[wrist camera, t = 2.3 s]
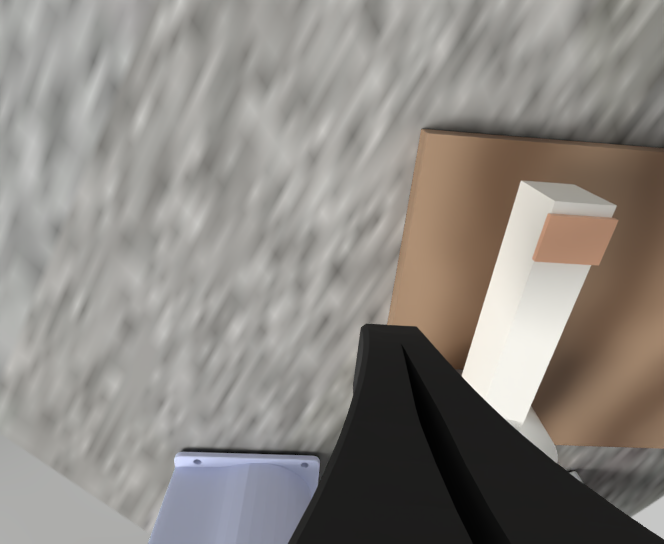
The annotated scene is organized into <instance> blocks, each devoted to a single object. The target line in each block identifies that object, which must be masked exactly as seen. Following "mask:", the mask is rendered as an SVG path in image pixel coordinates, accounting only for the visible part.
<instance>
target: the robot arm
mask: <svg viewBox="0 0 664 544" xmlns="http://www.w3.org/2000/svg"><path fill="white" fill-rule="evenodd" d="M174 462H175V469H174V472H173V475H172V478H171V480H170V483H169V486H168V489H167V492H166V494H165V497H164V500H163V503H162V506H161V508H160V511H159V514H158V517H157V520H156V522H155V525H154V528H153V531H152V534H151V536H150V539H149V542H148V544H664V539H662V538H661V537H659V536H658V535H656V534H655V533H653V532H651V531H650V530H648V529H647V528H646V527H644V526H643V525H641V524H640V523H638V522H637V521H635V520H634V519H632V518H631V517H629V516H628V515H626V514H625V513H624V512H622V511H621V510H619V509H618V508H616V507H615V506H614V505H612V504H611V503H609V502H608V501H607V500H605V499H604V498H603V497H601V496H600V495H598V494H597V493H596V492H594V491H593V490H592V489H590V488H589V487H587V486H586V485H585V484H583V483H582V482H581V481H579V480H578V479H576V478H575V477H574V476H573V475H571V474H570V473H569V472H567V471H566V470H565V469H564V468H562V467H561V466H560V465H558V464H557V463H556V462H555V461H553V460H552V459H551V458H550V457H549V456H547V455H546V454H545V453H544V452H542V451H541V450H540V449H539V448H538V447H536V446H535V445H534V444H533V443H532V442H530V441H529V440H528V439H527V438H526V437H524V436H523V435H522V434H521V433H520V432H519V431H518V430H516V429H515V428H514V427H513V426H512V425H511V424H510V423H509V422H508V421H506V420H505V419H504V418H503V417H502V416H501V415H500V414H499V413H498V412H497V411H496V410H495V409H494V408H493V407H492V406H491V405H489V404H488V403H487V402H486V401H485V400H484V399H483V398H482V397H481V396H480V395H479V394H478V393H477V392H476V391H475V390H474V389H473V388H472V387H471V386H470V385H469V384H468V383H467V381H466V380H465V379H464V378H463V377H462V376H461V375H460V374H459V373H458V372H457V371H456V370H455V369H454V368H453V367H452V365H451V364H450V363H449V362H448V361H447V360H446V359H445V358H444V357H443V355H442V354H441V353H440V352H439V351H438V350H437V349H436V348H435V346H434V345H433V344H432V343H431V342H430V341H429V340H428V338H427V337H426V336H425V335H424V334H423V333H422V332H421V331H420V330H419V328H418V327H417V326H400V325H380V324H365V325H364V326H363V327H361V331H360V339H359V346H358V353H357V360H356V368H355V375H354V382H353V398H352V402H351V405H350V408H349V411H348V414H347V417H346V420H345V423H344V426H343V428H342V431H341V434H340V436H339V439H338V441H337V444H336V446H335V449H334V451H333V454H332V456H331V458H330V460H329V463H328V465H327V467H326V469H325V471H324V474H323V476H322V478H321V480H320V482H319V485H318V478H319V468H320V460H319V458H318V457H316V456H307V455H275V454H242V453H210V452H179V453H177V454H176V456H175V459H174Z"/></svg>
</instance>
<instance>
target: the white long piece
mask: <svg viewBox="0 0 664 544" xmlns="http://www.w3.org/2000/svg"><path fill="white" fill-rule="evenodd" d="M616 206H617V205H615V204H613V203H610V202H608V201H606V200H604V199H602V198H600V197H598V196H596V195H594V194H592V193H590V192H588V191H586V190H584V189H582V188H580V187H578V186H576V185H574V184H562V183H549V182H535V181H521V182H520V185H519V189H518V192H517V195H516V199H515V202H514V205H513V208H512V212H511V215H510V218H509V222H508V225H507V228H506V232H505V235H504V238H503V241H502V245H501V248H500V251H499V255H498V258H497V261H496V264H495V268H494V271H493V274H492V278H491V281H490V284H489V288H488V291H487V294H486V297H485V301H484V304H483V307H482V311H481V314H480V317H479V320H478V324H477V327H476V330H475V334H474V337H473V340H472V343H471V347H470V350H469V353H468V357H467V360H466V363H465V367H464V370H463V373H462V377H463V378H464V379H465V380H466V381H467V383H468V384H469V385H470V386H471V387H472V388H473V389H474V390H475V391H476V392H477V393H478V394H479V395H480V396H481V397H482V398H483V399H484V400H485V401H486V402H487V403H488V404H489V405H491V406H492V407H493V408H494V409H495V410H496V411H497V412H498V413H499V414H500V415H501V416H502V417H503V418H504V419H505V420H506V421H508V422H509V423H510V424H511V425H512V426H513V427H514V428H515V429H516V430H518V431H519V432H520V433H521V434H522V435H523V436H524V437H526V438H527V439H528V440H529V441H530V442H532V443H533V444H534V445H535V446H536V447H538V448H539V449H540V450H541V451H542V452H544V453H545V454H546V455H547V456H549V457H550V458H551V459H552V460H553V461H555V462H556V463H558V454H557V449H556V447H555V445H554V443H553V441H552V440H551V438H550V436H549V435H548V433H547V431H546V430H545V428H544V426H543V425H542V423H541V421H540V420H539V418H538V416H537V415H536V413H535V411H534V410H533V408H532V406H531V404H532V402H533V399H534V397H535V395H536V392H537V390H538V388H539V386H540V383H541V381H542V379H543V376H544V374H545V372H546V369H547V367H548V365H549V362H550V360H551V358H552V355H553V353H554V351H555V348H556V346H557V344H558V341H559V339H560V337H561V334H562V332H563V330H564V327H565V325H566V323H567V320H568V318H569V316H570V313H571V311H572V309H573V306H574V304H575V302H576V299H577V297H578V295H579V293H580V290H581V288H582V286H583V283H584V281H585V279H586V276H587V274H588V272H589V269H590V267H591V265H598V266H599V264H600V262H601V259H602V257H603V255H604V253H605V250H606V248H607V246H608V244H609V241H610V239H611V237H612V235H613V232H614V230H615V228H616V225H617V223H618V221H619V220H618V219H616V218H612V216H613V213H614V211H615V209H616Z"/></svg>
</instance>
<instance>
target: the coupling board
mask: <svg viewBox="0 0 664 544" xmlns="http://www.w3.org/2000/svg"><path fill="white" fill-rule="evenodd" d="M521 181H535V182H549V183H562V184H574V185H576V186H578V187H580V188H582V189H584V190H586V191H588V192H590V193H592V194H594V195H596V196H598V197H600V198H602V199H604V200H606V201H608V202H610V203H613V204H615V205H617V206H616V209H615V211H614V213H613V216H612V218H616V219H618V220H619V221H618V223H617V225H616V228H615V230H614V232H613V235H612V237H611V239H610V241H609V244H608V246H607V248H606V250H605V253H604V255H603V257H602V259H601V262H600V264H599V266H598V265H591V267H590V269H589V272H588V274H587V276H586V279H585V281H584V283H583V286H582V288H581V290H580V293H579V295H578V297H577V299H576V302H575V304H574V306H573V309H572V311H571V313H570V316H569V318H568V320H567V323H566V325H565V327H564V330H563V332H562V334H561V337H560V339H559V341H558V344H557V346H556V348H555V351H554V353H553V355H552V358H551V360H550V362H549V365H548V367H547V369H546V372H545V374H544V376H543V379H542V381H541V383H540V386H539V388H538V390H537V392H536V395H535V397H534V399H533V402H532V404H531V406H532V408H533V410H534V411H535V413H536V415H537V416H538V418H539V420H540V421H541V423H542V425H543V426H544V428H545V430H546V431H547V433H548V435H549V436H550V438H551V440H552V441H553V443H554V445H574V446H604V447H633V448H663V449H664V148H654V147H642V146H629V145H617V144H605V143H592V142H580V141H567V140H555V139H542V138H530V137H517V136H505V135H492V134H480V133H467V132H455V131H442V130H430V129H421V134H420V140H419V146H418V152H417V157H416V163H415V169H414V174H413V180H412V186H411V192H410V197H409V203H408V209H407V214H406V220H405V226H404V232H403V237H402V243H401V249H400V254H399V260H398V266H397V272H396V277H395V283H394V289H393V294H392V300H391V306H390V312H389V317H388V323H387V325H400V326H417V327H418V328H419V330H420V331H421V332H422V333H423V334H424V335H425V336H426V337H427V338H428V340H429V341H430V342H431V343H432V344H433V345H434V346H435V348H436V349H437V350H438V351H439V352H440V353H441V354H442V355H443V357H444V358H445V359H446V360H447V361H448V362H449V363H450V364H451V365H452V367H453V368H454V369H455V370H456V371H457V372H458V373H459V374H460V375H461V376H462V373H463V370H464V367H465V363H466V360H467V357H468V353H469V350H470V347H471V343H472V340H473V337H474V334H475V330H476V327H477V324H478V320H479V317H480V314H481V311H482V307H483V304H484V301H485V297H486V294H487V291H488V288H489V284H490V281H491V278H492V274H493V271H494V268H495V264H496V261H497V258H498V255H499V251H500V248H501V245H502V241H503V238H504V235H505V232H506V228H507V225H508V222H509V218H510V215H511V212H512V208H513V205H514V202H515V199H516V195H517V192H518V189H519V185H520V182H521Z"/></svg>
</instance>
